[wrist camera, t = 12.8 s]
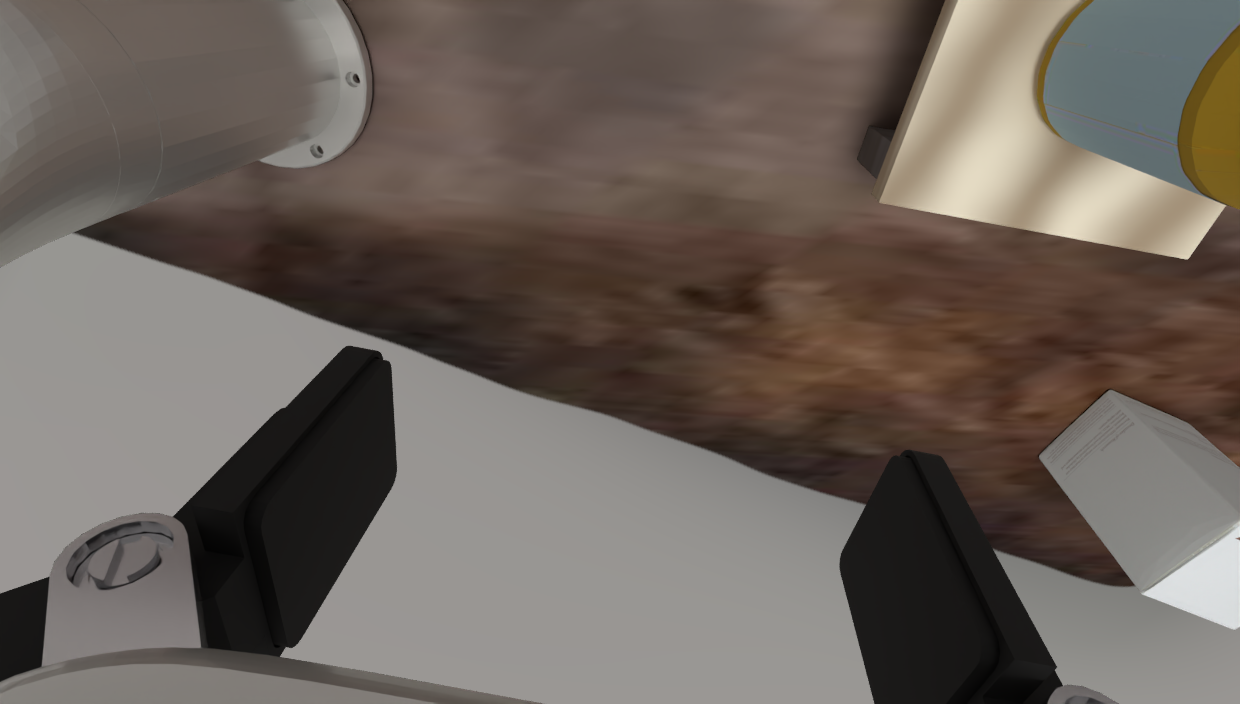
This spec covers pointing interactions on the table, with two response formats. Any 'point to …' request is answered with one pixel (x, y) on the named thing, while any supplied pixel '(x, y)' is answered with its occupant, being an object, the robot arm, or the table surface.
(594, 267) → the table surface
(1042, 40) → the footstool
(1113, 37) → the bottle
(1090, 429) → the supplement box
